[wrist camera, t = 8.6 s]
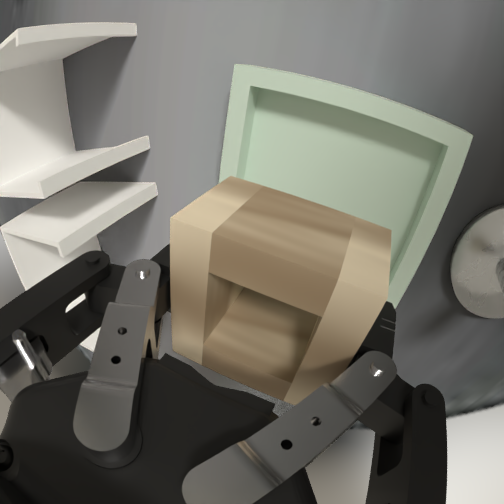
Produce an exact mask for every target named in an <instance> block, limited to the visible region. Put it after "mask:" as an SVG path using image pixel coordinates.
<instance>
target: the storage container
mask: <svg viewBox="0 0 504 504" xmlns="http://www.w3.org/2000/svg"><path fill="white" fill-rule="evenodd" d="M134 36H137V26H136V23H110V22H95V23H67V24H53V25H42V26H33V27H25V28H18V29H17V30H16V31H15V32H13V33H12V34H11V35H10V36H9V37H8V38H7V39H6V40H4V41H3V42H2V43H1V44H0V197H21V198H41V199H45V198H47V197H49V196H50V195H52V194H54V193H56V192H58V191H60V190H62V189H64V188H66V187H67V186H69V185H71V184H73V183H75V182H77V181H79V180H81V179H83V178H85V177H87V176H90V175H92V174H94V173H96V172H98V171H100V170H102V169H104V168H106V167H109V166H111V165H113V164H115V163H118V162H120V161H122V160H124V159H127V158H129V157H131V156H134V155H136V154H138V153H141V152H143V151H145V150H148V149H150V143H149V137H148V136H143V137H141V138H138V139H135V140H132V141H130V142H127V143H124V144H122V145H119V146H117V147H108V148H98V149H89V150H81V151H76V149H75V144H74V139H73V133H72V128H71V122H70V116H69V109H68V102H67V95H66V87H65V79H64V69H63V59H64V58H66V57H68V56H70V55H72V54H74V53H76V52H78V51H80V50H82V49H84V48H87V47H89V46H91V45H93V44H96V43H98V42H100V41H103V40H105V39H108V38H110V37H134ZM157 195H158V191H157V186H156V183H150V182H79V183H77V184H75V185H73V186H71V187H69V188H67V189H65V190H63V191H61V192H60V193H58V194H56V195H54V196H52V197H50V198H48V199H47V200H45V201H43V202H41V203H39V204H38V205H36V206H34V207H32V208H31V209H29V210H27V211H25V212H24V213H22V214H20V215H19V216H17V217H15V218H14V219H12V220H10V221H9V222H7V223H6V224H4V225H2V226H1V227H0V230H1V233H2V235H3V238H4V241H5V243H6V246H7V249H8V251H9V253H10V256H11V258H12V261H13V263H14V266H15V268H16V270H17V272H18V275H19V277H20V279H21V282H22V284H23V286H24V288H25V290H28V289H29V288H31V287H32V286H34V285H35V284H37V283H38V282H40V281H41V280H43V279H44V278H46V277H47V276H49V275H51V274H52V273H54V272H55V271H57V270H58V269H60V268H61V267H63V266H65V265H66V264H68V263H69V262H71V261H72V260H74V259H76V258H77V257H79V256H81V255H82V254H84V253H86V252H89V251H94V250H98V251H101V248H100V244H99V241H98V238H97V234H98V233H99V232H101V231H102V230H104V229H105V228H107V227H108V226H110V225H111V224H113V223H114V222H116V221H117V220H119V219H120V218H122V217H124V216H125V215H127V214H128V213H130V212H131V211H133V210H134V209H136V208H138V207H139V206H141V205H142V204H144V203H146V202H147V201H149V200H150V199H152V198H154V197H155V196H157ZM84 299H85V294H82V295H81V296H80V297H78V298H77V299H75V300H74V301H73V302H71V303H70V304H69V305H68V306H67V308H66V312H68V311H69V310H70V309H72V308H73V307H75V306H76V305H77V304H79V303H80V302H81V301H83V300H84ZM100 328H101V327H100ZM100 328H99V329H97V330H96V331H95V332H94V333H93V334H91V335H90V336H89V337H88V338H86V339H85V340H84V341H83V342H82V343H80V345H82V346H83V347H85V348H87V349H89V350H91V351H93V352H94V349H95V346H96V342H97V338H98V335H99V332H100Z"/></svg>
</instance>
